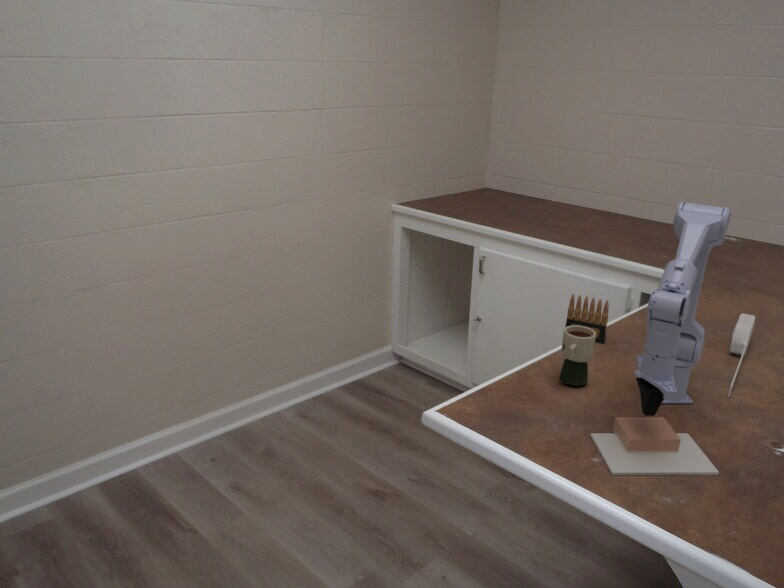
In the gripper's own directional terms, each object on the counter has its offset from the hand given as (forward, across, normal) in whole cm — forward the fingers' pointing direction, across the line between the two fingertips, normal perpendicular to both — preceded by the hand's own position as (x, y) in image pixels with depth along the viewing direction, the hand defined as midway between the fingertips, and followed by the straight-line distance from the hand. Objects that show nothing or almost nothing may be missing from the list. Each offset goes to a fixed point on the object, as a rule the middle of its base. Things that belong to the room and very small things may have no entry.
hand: (648, 414), depth 132 cm
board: (+6, +4, 0) cm, 8 cm away
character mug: (+7, -25, -7) cm, 27 cm away
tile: (+4, -4, 0) cm, 6 cm away
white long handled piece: (+7, -34, +36) cm, 50 cm away
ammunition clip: (+7, -49, +3) cm, 49 cm away
